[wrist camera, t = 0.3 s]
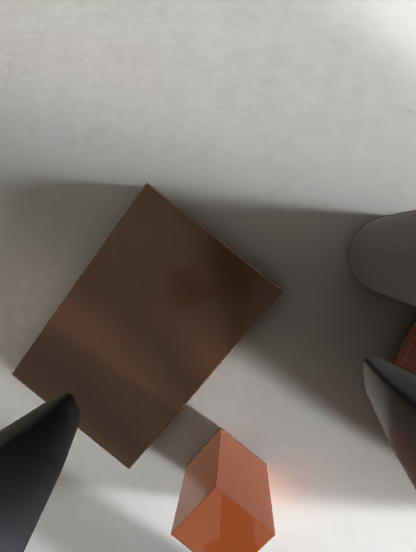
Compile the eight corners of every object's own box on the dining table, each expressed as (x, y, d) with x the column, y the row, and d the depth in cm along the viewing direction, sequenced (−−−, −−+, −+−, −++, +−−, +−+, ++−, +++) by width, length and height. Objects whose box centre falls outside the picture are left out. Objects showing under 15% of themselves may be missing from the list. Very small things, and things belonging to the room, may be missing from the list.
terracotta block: (230, 501, 25) (227, 580, 19) (186, 466, 25) (170, 534, 19) (266, 464, 25) (275, 534, 19) (221, 427, 25) (215, 486, 19)
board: (135, 456, 26) (129, 469, 24) (24, 366, 26) (11, 374, 24) (280, 288, 23) (282, 291, 21) (152, 186, 23) (146, 182, 21)
